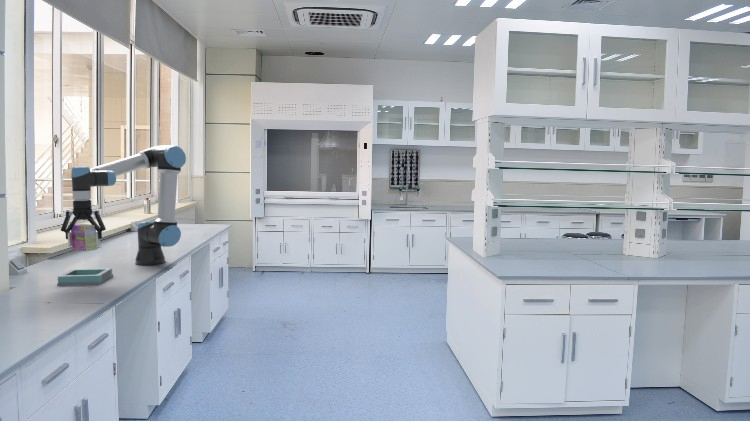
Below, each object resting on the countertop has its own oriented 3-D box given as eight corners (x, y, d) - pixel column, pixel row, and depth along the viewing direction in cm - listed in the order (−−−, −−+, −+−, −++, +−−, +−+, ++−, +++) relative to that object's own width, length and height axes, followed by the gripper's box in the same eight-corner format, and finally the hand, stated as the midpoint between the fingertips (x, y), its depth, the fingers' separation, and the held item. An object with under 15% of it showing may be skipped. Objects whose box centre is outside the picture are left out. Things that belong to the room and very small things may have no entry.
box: (71, 249, 246) (70, 224, 245) (83, 247, 251) (82, 223, 250) (85, 251, 241) (84, 226, 240) (97, 249, 247) (96, 224, 245)
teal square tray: (113, 275, 258) (112, 267, 258) (99, 284, 240) (98, 275, 240) (73, 276, 255) (73, 268, 255) (57, 285, 238) (56, 277, 237)
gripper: (112, 199, 249) (114, 244, 252) (58, 199, 246) (60, 245, 248) (106, 200, 242) (108, 246, 244) (50, 200, 239) (53, 247, 241)
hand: (84, 246), depth 246 cm, fingers closed on box, 11 cm apart
